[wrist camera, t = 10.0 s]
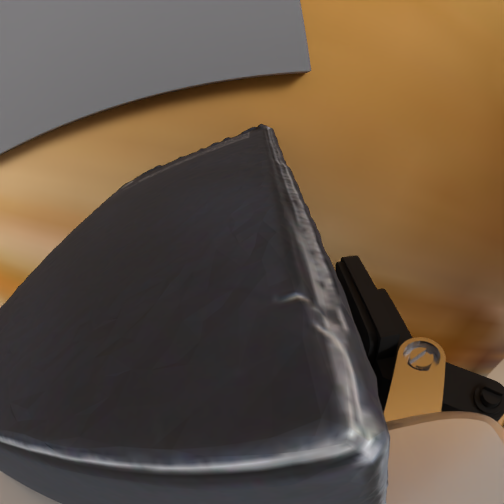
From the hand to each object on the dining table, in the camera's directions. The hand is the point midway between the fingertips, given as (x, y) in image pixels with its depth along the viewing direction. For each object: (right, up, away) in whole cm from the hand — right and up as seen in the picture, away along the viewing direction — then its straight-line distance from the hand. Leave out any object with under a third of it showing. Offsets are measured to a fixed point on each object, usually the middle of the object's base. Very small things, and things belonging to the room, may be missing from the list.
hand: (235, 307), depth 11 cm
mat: (-6, +15, -5) cm, 17 cm away
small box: (0, +1, +2) cm, 3 cm away
